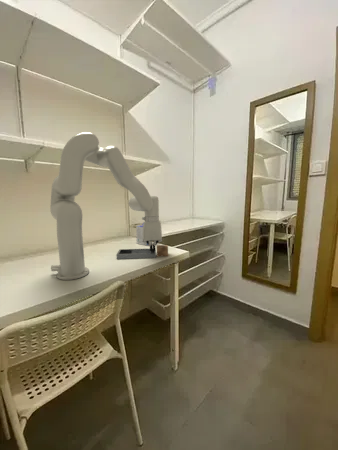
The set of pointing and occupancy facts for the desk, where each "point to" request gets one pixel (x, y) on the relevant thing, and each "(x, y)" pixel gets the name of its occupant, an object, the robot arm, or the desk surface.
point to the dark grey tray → (135, 253)
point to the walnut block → (162, 250)
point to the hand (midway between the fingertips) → (152, 252)
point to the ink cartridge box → (140, 235)
